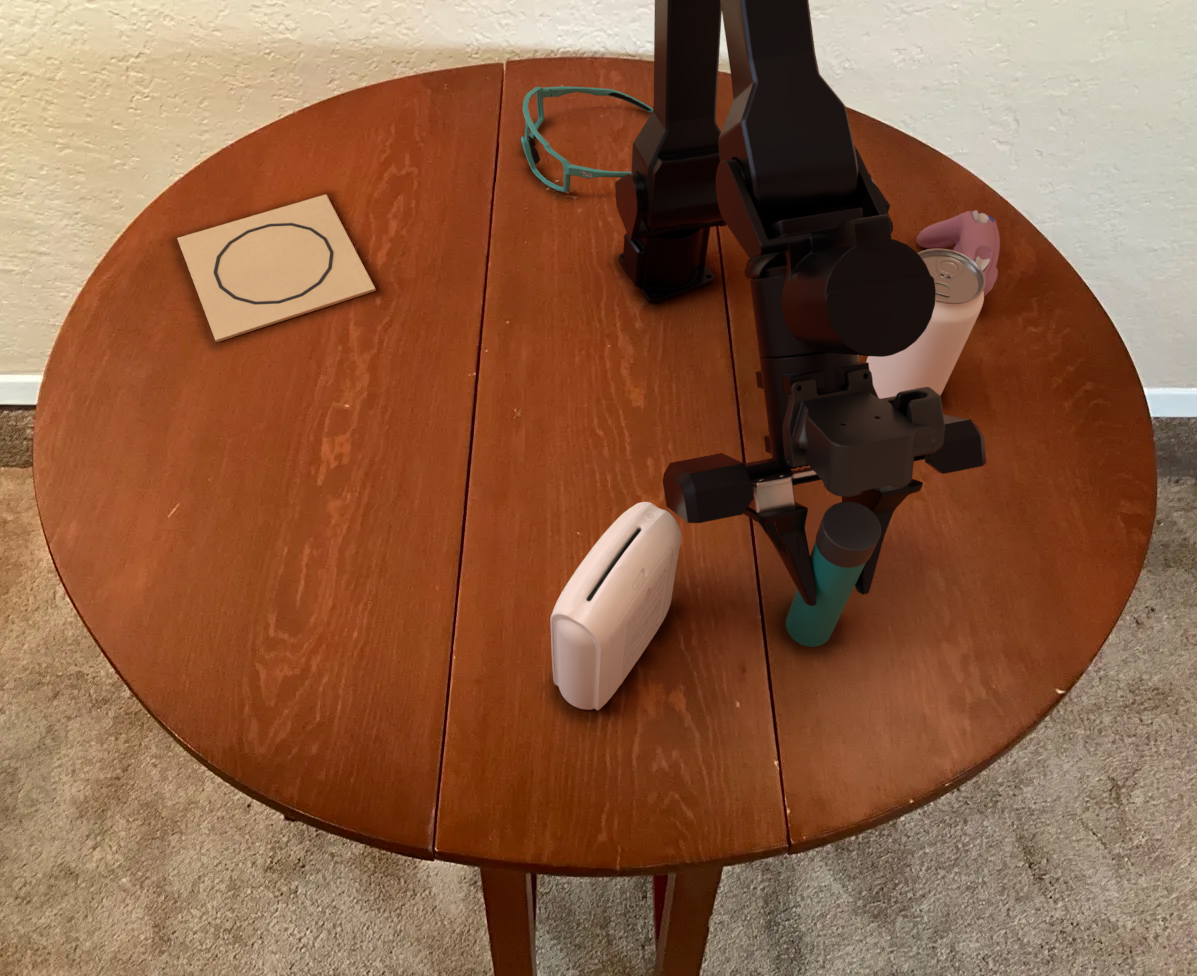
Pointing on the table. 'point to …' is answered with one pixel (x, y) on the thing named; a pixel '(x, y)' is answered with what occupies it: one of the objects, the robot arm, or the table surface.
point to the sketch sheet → (273, 267)
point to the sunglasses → (532, 152)
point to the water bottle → (834, 570)
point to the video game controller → (967, 240)
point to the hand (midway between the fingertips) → (836, 598)
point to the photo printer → (614, 605)
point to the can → (936, 328)
